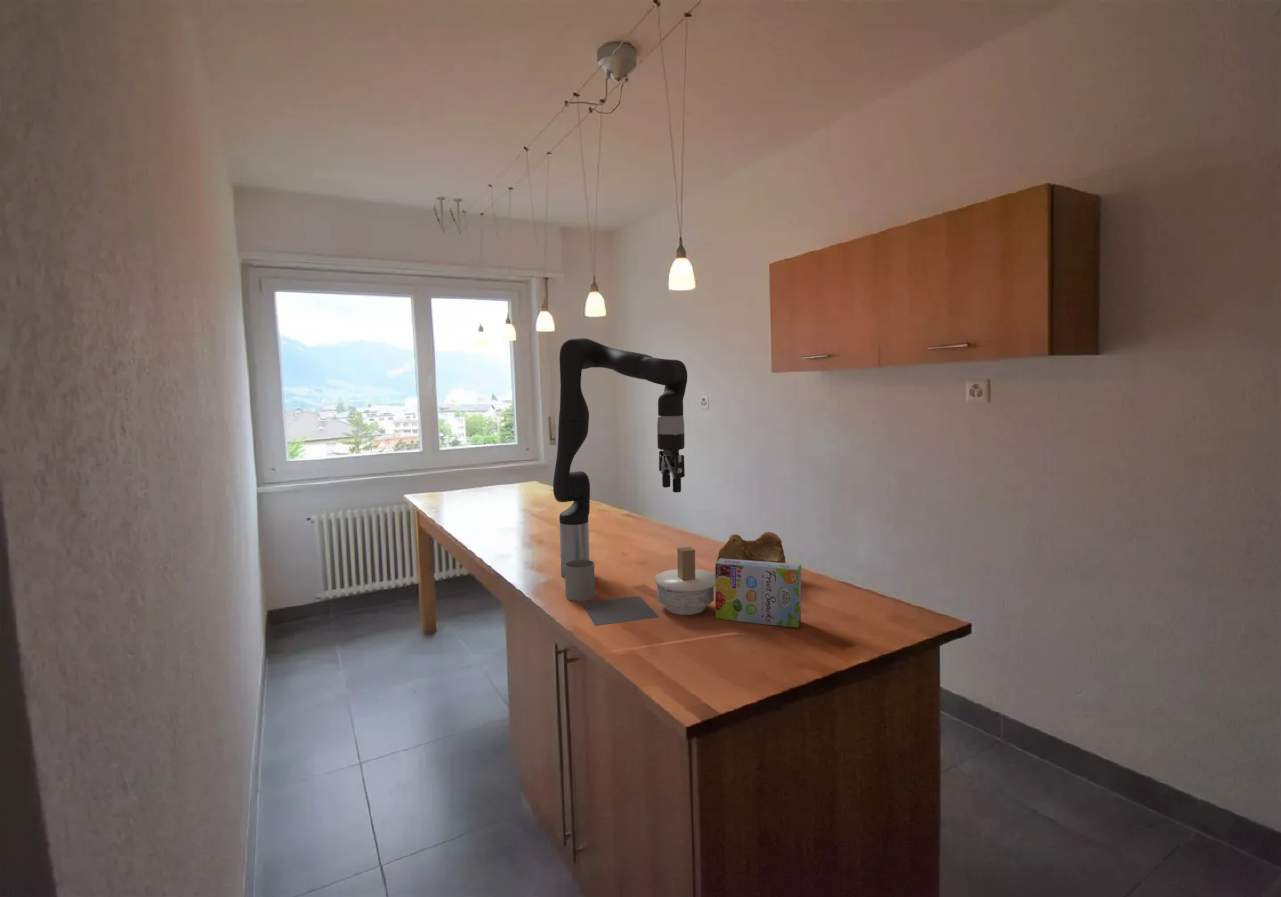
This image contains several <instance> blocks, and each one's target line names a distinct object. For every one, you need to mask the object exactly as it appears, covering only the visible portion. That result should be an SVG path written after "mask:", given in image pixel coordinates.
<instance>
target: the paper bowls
mask: <svg viewBox="0 0 1281 897" xmlns="http://www.w3.org/2000/svg"><path fill="white" fill-rule="evenodd" d="M656 591H657V593H656V594H657V595H656V596H657V601H658V603H660V604H661V605H663V606H664V607H665V609H666V610H667V611H668V612H670V613H672V614H676V615H680V616H686V615H687V616H690V615H691V616H692V615H697V614H701V613H702V612H704V611H705V609H706V608H707V606H708V605H710V604H712V603H713V602H714V600H715V587H713V588H710V589H707V590H702V591H692V592H683V591H673V590H668V589H664V588H662V587H659V586H658V585H657V584H656Z"/></svg>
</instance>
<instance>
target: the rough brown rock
mask: <svg viewBox="0 0 1281 897" xmlns="http://www.w3.org/2000/svg"><path fill="white" fill-rule="evenodd" d="M782 543H783V542H782V539H781V538H780V537H779V536H778V534H776V533H774V532H771V531H767V532H763V533H762V534H761V535H760V536H759V537H758V538H756V539H754V540H745V539H743V538H742V537H741V535H739V534H731V535H730V536H729V537H728V540H727V541H726V542H725V544H724V545H723V546H722V547H721V548H720V549H719V551H718V555H717V559H716V562H717V561H718V560H719V559H720V558H722V559H735V560H749V561H762V562H776V563H786V556H785V552H784V548H783V544H782Z"/></svg>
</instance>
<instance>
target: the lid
mask: <svg viewBox="0 0 1281 897" xmlns="http://www.w3.org/2000/svg"><path fill="white" fill-rule="evenodd" d="M676 549H677V568H675V569H669V570H664V571H661V572H660V573H658V574H656V575H655V577H654V583H655V585H656V586H657V585H658V586H659V587H662V588H664V589H668V590H673V591H683V592H692V591H702V590H707V589H710V588H713V587H714V588H715V573H713V572H711V571H707V570H703V569H698V568H696V550H695V549H694V548H693V547H691V546H685V547H677V548H676Z"/></svg>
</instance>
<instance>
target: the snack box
mask: <svg viewBox="0 0 1281 897" xmlns="http://www.w3.org/2000/svg"><path fill="white" fill-rule="evenodd" d="M714 568H715V569H714V570H715V571H714V572H715V573H714V574H715V587H714V600H715V618H718V619H719V618H720V619H722V620H725V621H733V622H742V623H743V622H744V623H749V624H751V623H752V624H758V625H768V626H777V627H787V628H795V629H796V628H797V629H799V628H800V625H801V620H802V564H801V563H800V564H799V563H787V562H785V563H776V562H762V561H749V560H735V559H722V558H720V559H719V560H718V561H717V560H716V563H715V567H714Z"/></svg>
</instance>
